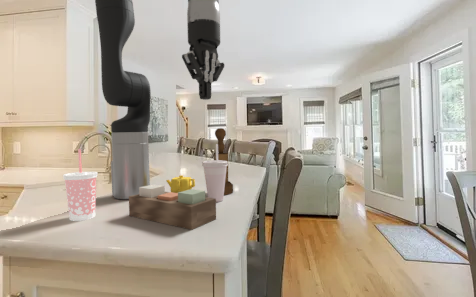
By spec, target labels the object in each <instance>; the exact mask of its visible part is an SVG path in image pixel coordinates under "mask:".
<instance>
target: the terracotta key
mask: <svg viewBox="0 0 476 297" xmlns="http://www.w3.org/2000/svg"><path fill="white" fill-rule="evenodd" d="M169 192H170V193H166V194H162V195H158V199H161V200H168V201H172V200H176V199H178V193H173V192H171V191H169Z"/></svg>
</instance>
